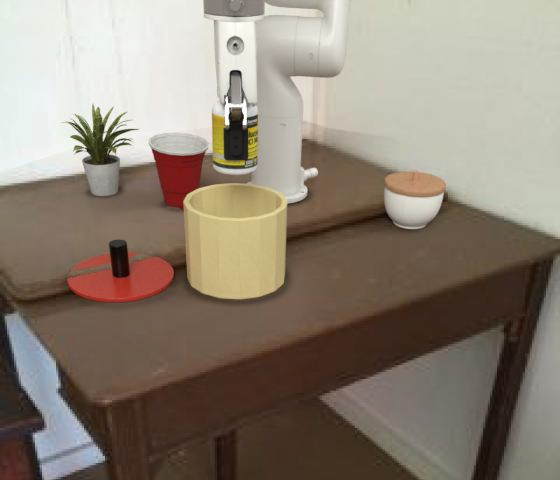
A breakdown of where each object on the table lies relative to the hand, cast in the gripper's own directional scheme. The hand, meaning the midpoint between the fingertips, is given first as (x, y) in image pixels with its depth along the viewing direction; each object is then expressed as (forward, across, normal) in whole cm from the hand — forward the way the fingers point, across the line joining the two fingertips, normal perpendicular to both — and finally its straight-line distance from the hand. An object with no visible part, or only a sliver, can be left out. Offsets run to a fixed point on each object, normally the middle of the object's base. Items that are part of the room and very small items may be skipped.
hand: (235, 150), depth 96 cm
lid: (+19, 0, +17) cm, 26 cm away
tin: (+20, 0, 0) cm, 20 cm away
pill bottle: (+3, 0, 0) cm, 3 cm away
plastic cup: (+20, +32, +9) cm, 38 cm away
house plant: (+20, +38, +25) cm, 49 cm away
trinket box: (+20, +22, -32) cm, 44 cm away
